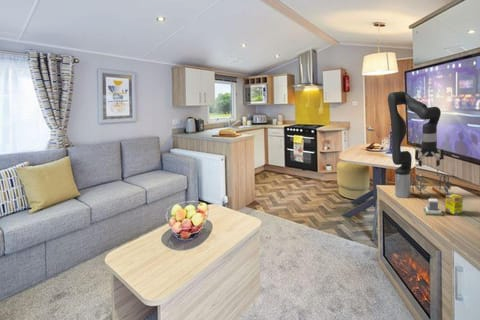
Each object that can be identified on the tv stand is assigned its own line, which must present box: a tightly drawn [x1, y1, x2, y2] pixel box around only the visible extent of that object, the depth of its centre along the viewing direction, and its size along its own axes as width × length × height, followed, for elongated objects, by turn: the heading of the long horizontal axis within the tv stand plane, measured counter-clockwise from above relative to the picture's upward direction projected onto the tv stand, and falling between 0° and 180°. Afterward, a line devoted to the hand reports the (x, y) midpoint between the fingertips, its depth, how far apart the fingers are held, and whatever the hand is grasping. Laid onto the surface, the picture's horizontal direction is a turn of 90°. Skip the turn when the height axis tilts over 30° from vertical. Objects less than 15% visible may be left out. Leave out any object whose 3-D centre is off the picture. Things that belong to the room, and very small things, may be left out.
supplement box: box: [444, 193, 464, 216], centre depth 160 cm, size 6×6×11 cm
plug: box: [427, 198, 439, 211], centre depth 163 cm, size 4×4×7 cm
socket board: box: [423, 206, 444, 217], centre depth 164 cm, size 8×8×2 cm
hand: (428, 166), depth 165 cm, fingers open, 8 cm apart
